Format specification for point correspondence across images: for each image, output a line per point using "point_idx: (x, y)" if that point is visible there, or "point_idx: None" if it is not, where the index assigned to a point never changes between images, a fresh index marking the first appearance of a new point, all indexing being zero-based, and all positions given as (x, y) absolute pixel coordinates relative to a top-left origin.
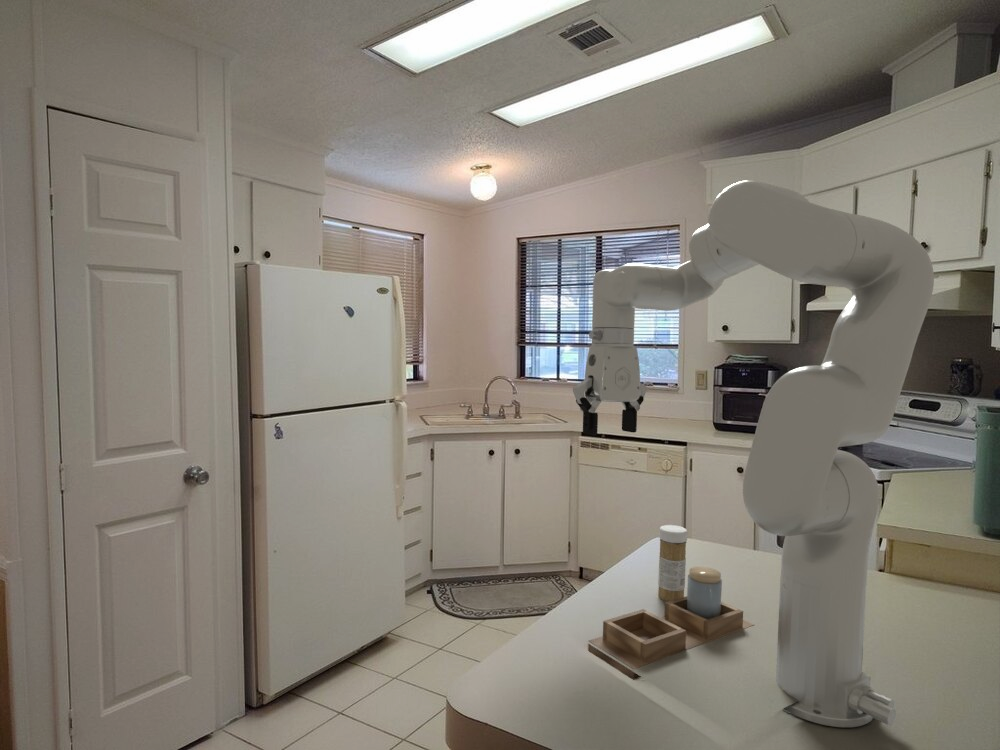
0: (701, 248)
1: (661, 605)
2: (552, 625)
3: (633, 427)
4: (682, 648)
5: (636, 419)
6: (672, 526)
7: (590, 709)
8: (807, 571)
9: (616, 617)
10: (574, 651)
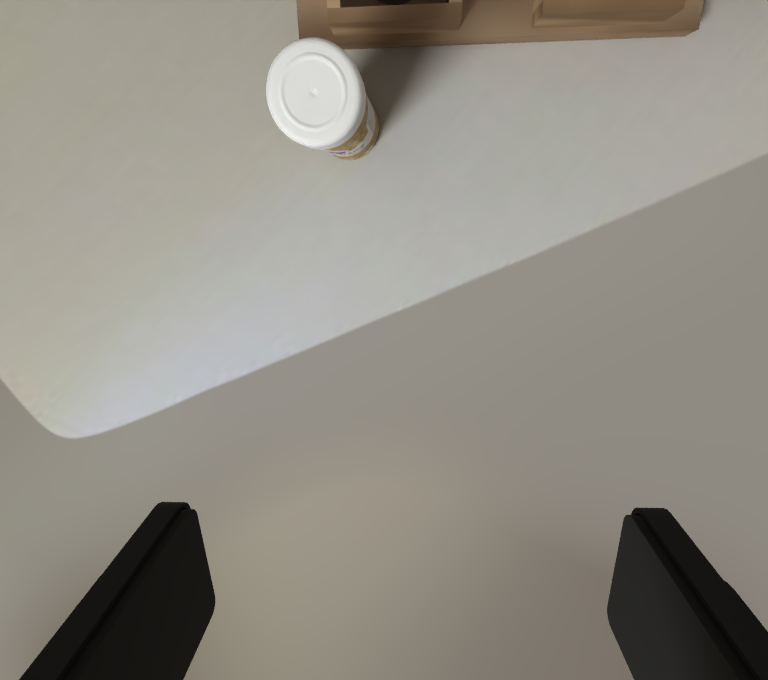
0: None
1: None
2: (651, 179)
3: (174, 532)
4: None
5: (92, 593)
6: (299, 112)
7: None
8: None
9: (640, 8)
10: (709, 50)
